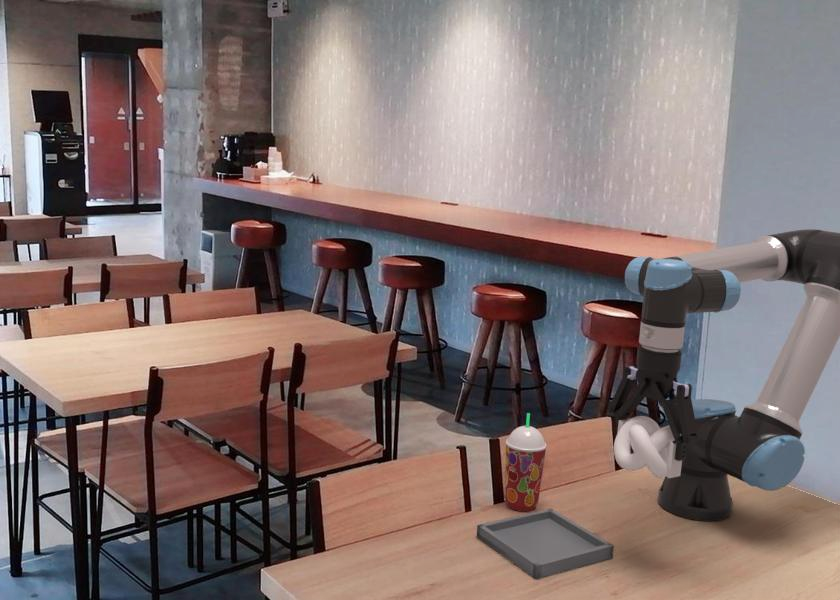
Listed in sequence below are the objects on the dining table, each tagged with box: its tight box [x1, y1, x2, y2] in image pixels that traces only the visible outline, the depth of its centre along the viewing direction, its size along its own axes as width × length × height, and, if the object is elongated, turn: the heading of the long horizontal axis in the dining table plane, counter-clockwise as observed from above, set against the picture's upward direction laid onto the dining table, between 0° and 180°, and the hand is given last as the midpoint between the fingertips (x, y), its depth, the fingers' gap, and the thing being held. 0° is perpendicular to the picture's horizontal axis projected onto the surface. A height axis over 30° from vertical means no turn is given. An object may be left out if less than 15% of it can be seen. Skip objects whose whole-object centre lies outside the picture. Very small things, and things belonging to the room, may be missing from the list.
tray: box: [476, 508, 615, 580], centre depth 169 cm, size 18×18×2 cm
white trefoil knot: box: [613, 415, 681, 479], centre depth 162 cm, size 11×12×9 cm
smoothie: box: [504, 412, 548, 512], centre depth 186 cm, size 8×8×20 cm
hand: (646, 464), depth 163 cm, fingers closed on white trefoil knot, 12 cm apart
